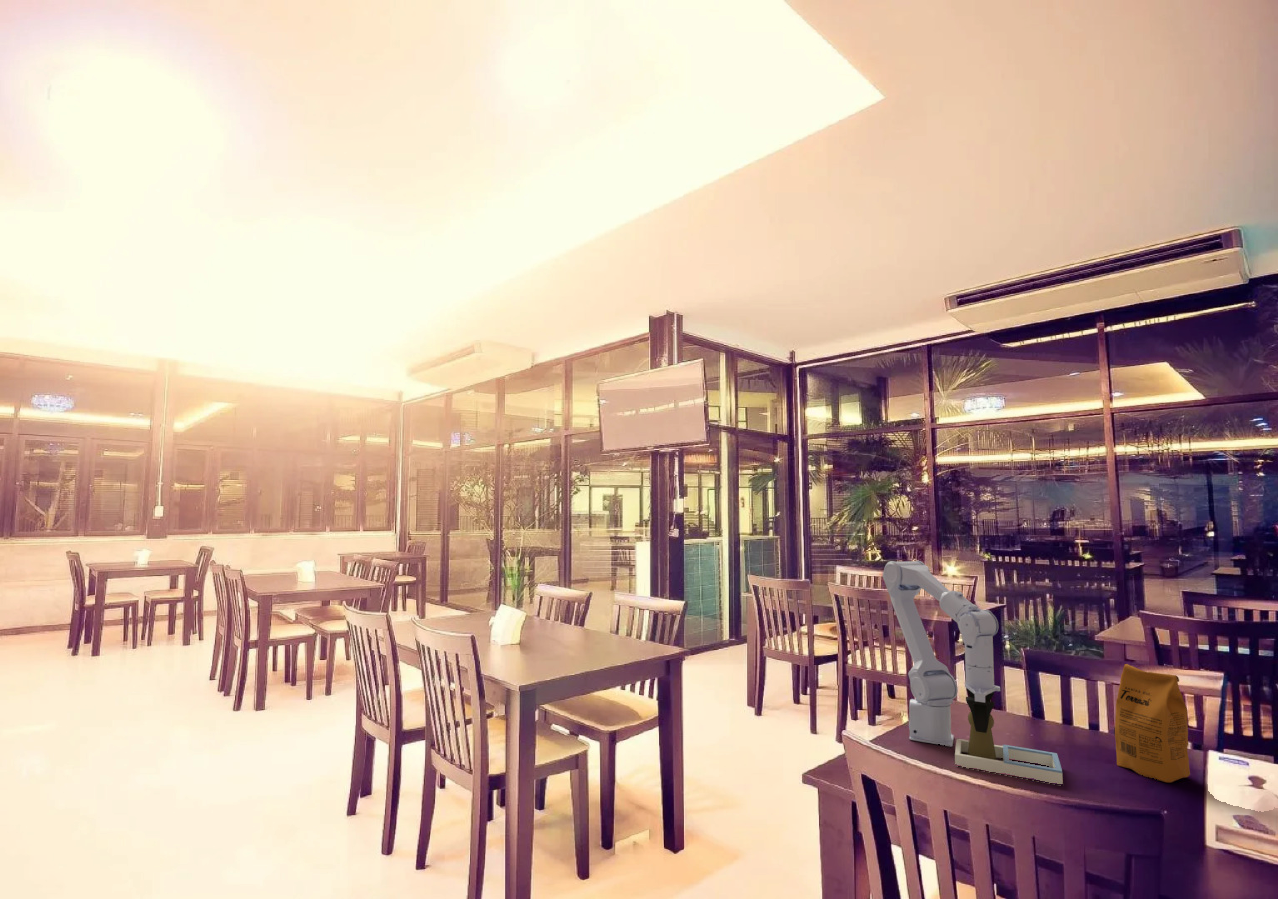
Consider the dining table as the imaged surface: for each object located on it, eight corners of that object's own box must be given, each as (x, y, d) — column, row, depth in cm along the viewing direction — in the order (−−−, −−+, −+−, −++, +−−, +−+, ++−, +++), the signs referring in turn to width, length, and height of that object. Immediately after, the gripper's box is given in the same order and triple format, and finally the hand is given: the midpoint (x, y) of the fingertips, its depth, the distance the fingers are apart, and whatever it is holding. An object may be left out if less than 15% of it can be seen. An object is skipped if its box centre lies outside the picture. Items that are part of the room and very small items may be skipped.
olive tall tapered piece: (1001, 769, 141) (999, 717, 142) (971, 766, 142) (970, 715, 143) (992, 758, 147) (990, 708, 148) (963, 755, 148) (962, 706, 149)
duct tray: (955, 766, 142) (954, 752, 143) (957, 749, 152) (956, 736, 152) (1062, 785, 133) (1062, 771, 133) (1057, 766, 143) (1056, 753, 143)
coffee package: (1138, 758, 148) (1133, 660, 150) (1199, 780, 136) (1193, 674, 138) (1106, 763, 145) (1102, 663, 147) (1166, 786, 133) (1160, 677, 135)
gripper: (1000, 674, 138) (1002, 740, 137) (998, 660, 151) (1000, 720, 150) (963, 670, 142) (965, 734, 140) (965, 656, 154) (966, 715, 153)
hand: (981, 726), depth 145 cm, fingers open, 7 cm apart
